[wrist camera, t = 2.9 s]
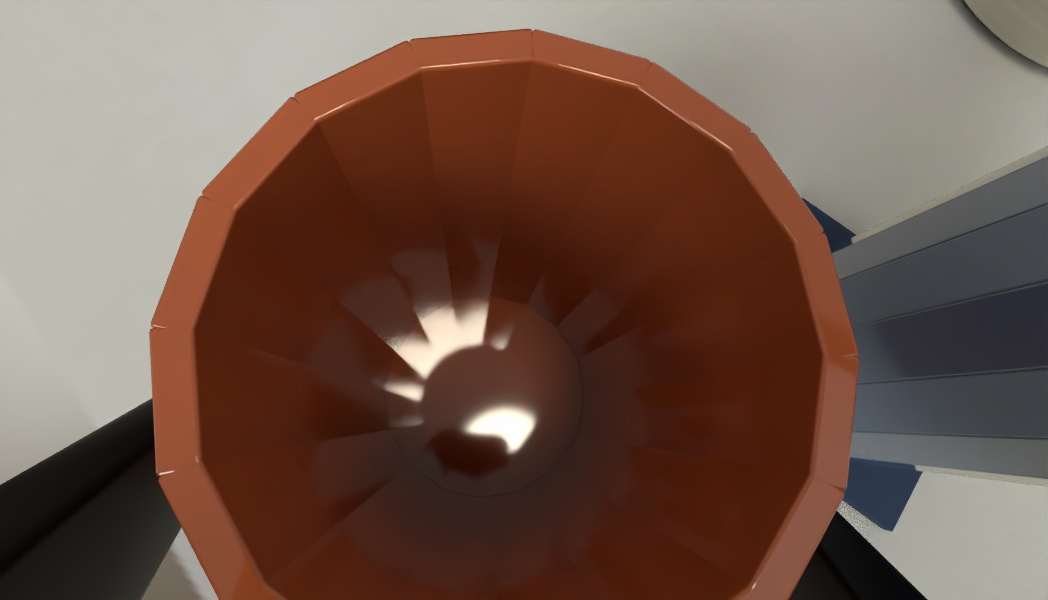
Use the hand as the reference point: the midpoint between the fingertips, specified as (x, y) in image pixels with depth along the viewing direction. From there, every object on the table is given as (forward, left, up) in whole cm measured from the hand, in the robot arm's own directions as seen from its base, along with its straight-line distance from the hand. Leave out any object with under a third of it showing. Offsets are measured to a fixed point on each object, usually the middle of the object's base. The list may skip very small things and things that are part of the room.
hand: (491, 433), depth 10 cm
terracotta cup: (+1, 0, -8) cm, 9 cm away
